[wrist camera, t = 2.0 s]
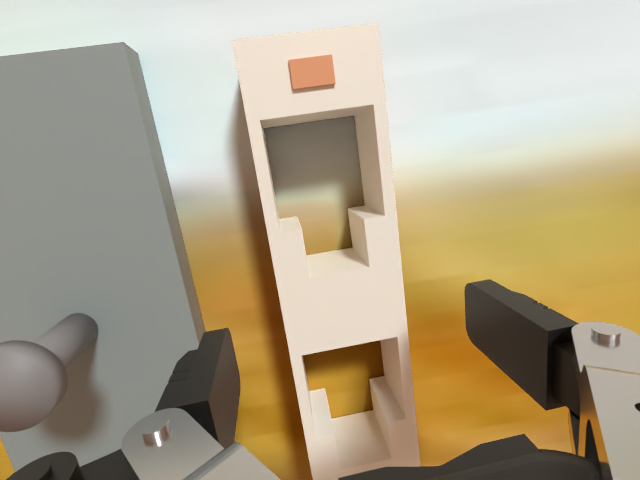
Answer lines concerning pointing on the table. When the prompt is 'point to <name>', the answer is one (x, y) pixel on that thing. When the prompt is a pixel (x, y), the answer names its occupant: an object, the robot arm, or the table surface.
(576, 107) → the table surface
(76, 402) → the board
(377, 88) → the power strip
